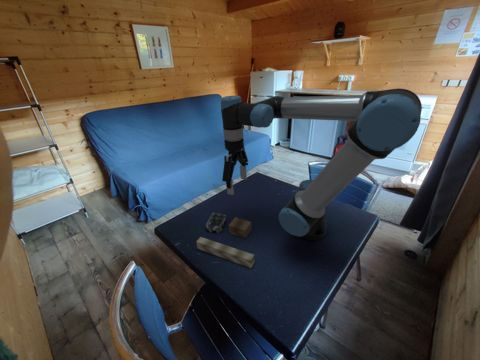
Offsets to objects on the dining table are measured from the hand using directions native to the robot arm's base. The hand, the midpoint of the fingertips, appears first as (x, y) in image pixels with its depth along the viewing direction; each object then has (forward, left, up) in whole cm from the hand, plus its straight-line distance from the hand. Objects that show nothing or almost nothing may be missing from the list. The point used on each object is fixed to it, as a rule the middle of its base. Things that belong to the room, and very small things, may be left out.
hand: (237, 186), depth 97 cm
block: (-4, +6, -20) cm, 21 cm away
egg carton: (+9, +6, -20) cm, 23 cm away
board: (-4, +21, -20) cm, 29 cm away
